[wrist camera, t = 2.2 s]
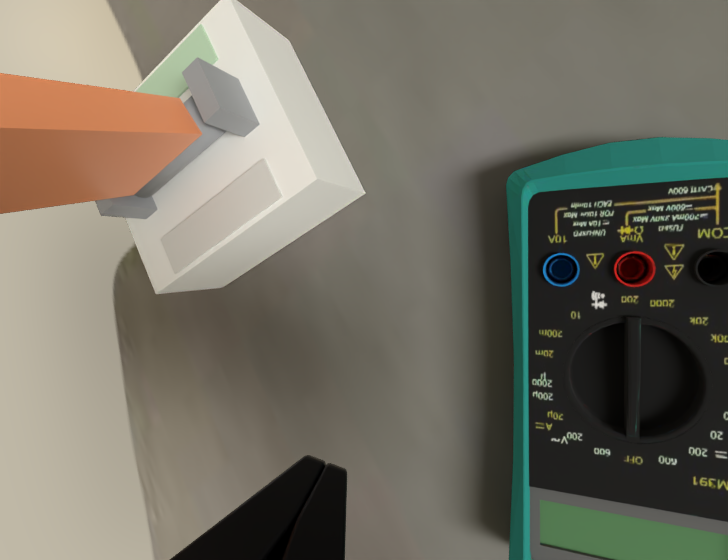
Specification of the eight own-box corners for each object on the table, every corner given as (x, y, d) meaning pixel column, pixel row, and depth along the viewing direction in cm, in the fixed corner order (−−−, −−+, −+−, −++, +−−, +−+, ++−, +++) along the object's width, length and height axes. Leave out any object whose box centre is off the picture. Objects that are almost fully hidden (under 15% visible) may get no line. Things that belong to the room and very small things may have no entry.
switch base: (365, 193, 19) (283, 168, 13) (222, 287, 22) (111, 298, 17) (289, 40, 20) (184, -40, 14) (164, 153, 24) (43, 122, 18)
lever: (234, 134, 17) (-162, 120, 7) (161, 195, 18) (-237, 256, 8) (210, 96, 16) (-230, 25, 7) (139, 162, 18) (-294, 184, 8)
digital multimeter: (761, 141, 14) (807, 113, 11) (751, 604, 14) (793, 683, 12) (512, 166, 17) (502, 150, 14) (515, 546, 17) (505, 599, 15)
